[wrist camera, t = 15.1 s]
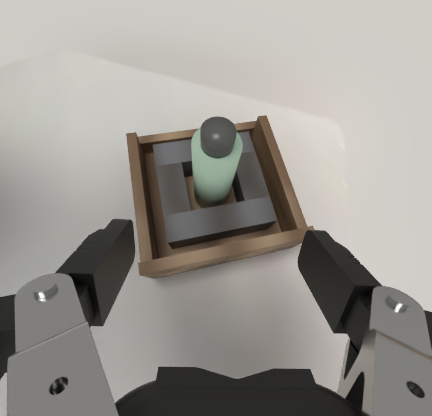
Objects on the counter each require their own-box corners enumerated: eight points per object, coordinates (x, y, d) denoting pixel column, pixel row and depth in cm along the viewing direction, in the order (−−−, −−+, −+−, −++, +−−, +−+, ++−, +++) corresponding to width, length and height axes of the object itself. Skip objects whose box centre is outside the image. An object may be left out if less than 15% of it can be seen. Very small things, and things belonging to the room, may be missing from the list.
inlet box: (153, 278, 24) (139, 275, 18) (136, 152, 29) (122, 119, 24) (291, 247, 26) (316, 236, 21) (254, 135, 32) (266, 102, 26)
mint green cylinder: (197, 213, 26) (196, 159, 15) (191, 182, 27) (185, 112, 16) (231, 207, 26) (253, 150, 16) (223, 177, 28) (238, 106, 17)
